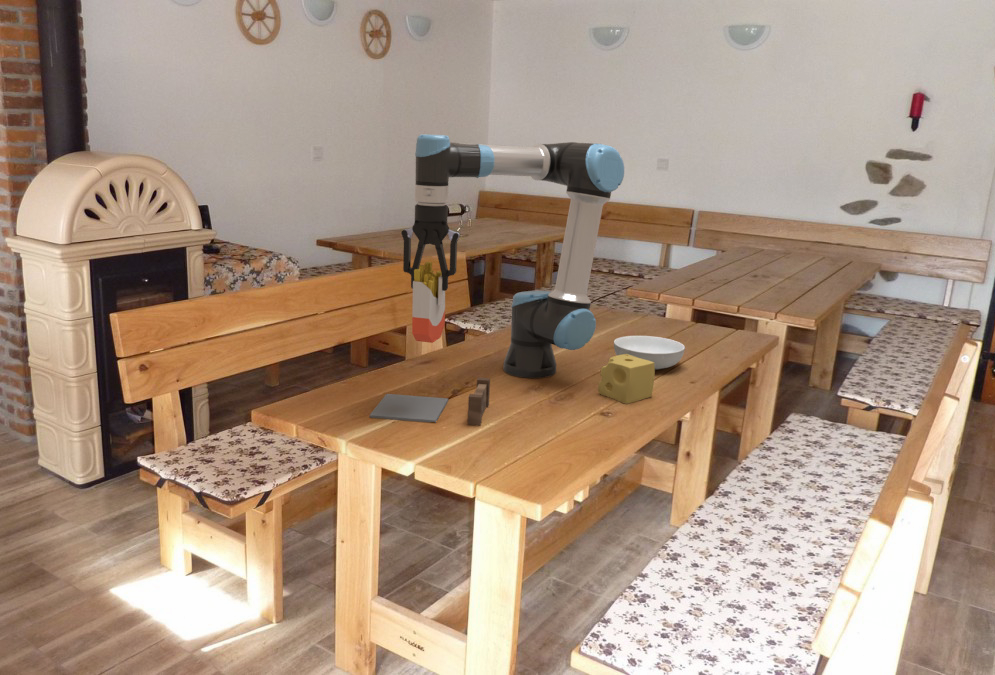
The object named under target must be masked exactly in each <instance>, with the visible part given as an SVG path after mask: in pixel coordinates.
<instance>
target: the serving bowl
mask: <svg viewBox="0 0 995 675" xmlns="http://www.w3.org/2000/svg"><path fill="white" fill-rule="evenodd" d="M613 350H614V352H615V356H617V355H622V354H629V355H632V356H634V357H638V358H641V359H645V360H648V361H651V362H654V367H655V371H656V370H662V369H667V368H670V367H673V366H675V365H676V364H678V363H679V362H680V361H681V359H682V358H683V356H684V354H685V350H686V347H685V345H684V344H683V343H682V342H679V341H676V340H673V339H671V338H665V337H660V336H652V335H651V336H650V335H627V336H626V335H625V336H620V337H617V338H615V339H614V341H613Z"/></svg>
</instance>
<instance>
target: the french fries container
mask: <svg viewBox="0 0 995 675" xmlns="http://www.w3.org/2000/svg"><path fill="white" fill-rule="evenodd" d="M440 276H442V273H441V270H440V271H439V270H437V271H436V273H434V270H433V262H432V261H425V263H424V265H423V264H420V265H419V269H415V270H414V281H413V289H412V319H411V320H412V325H411V326H412V327H411V328H412V329H411V334H412V335H413V337H414V340H415V341H416V342H421V343H431V344H432V343H435V342H436V341H437V340H439V339H440V338H442V335H443V331H444V328H445V326H446V320H445V319H446V291H443V304H442V305H438V286H439V277H440Z"/></svg>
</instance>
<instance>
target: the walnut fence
mask: <svg viewBox="0 0 995 675" xmlns="http://www.w3.org/2000/svg"><path fill="white" fill-rule="evenodd" d="M490 387H491V378H490V377H480V376H478V377H477V379H476V389H475V391H474V393H470V394H469V395H468V401H467V403H468V405H467V406H468V407H467V425H468V426H476V425H478V426H479V427H480V426H482V421H483V418H482V417H483V416H484V413H485V411H486V408H489V406H490V389H491V388H490ZM484 410H485V411H484Z"/></svg>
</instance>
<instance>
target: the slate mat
mask: <svg viewBox="0 0 995 675" xmlns="http://www.w3.org/2000/svg"><path fill="white" fill-rule="evenodd" d="M448 402H449V398H446V397H444V398H443V397H432V396H420V395H418V396H417V395H408V394H407V395H406V394H397V393H396V394H393V393H386V394H385V395H384V397H383V398H382V399H381V401H379V403H378V404H377V405H376V407H374V409H373V410H372V412H370V414H369V418H370V419H371V418H373V419H382V418H383V419H384V420H396V421H409V422H421V423H430V422H435V423H434V424H436V423H437V422H436V421H439V418H440V417H439V416H441V415H442V413H443V411H444V409H445V407H446V405H447V404H448ZM440 414H441V415H440Z"/></svg>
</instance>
